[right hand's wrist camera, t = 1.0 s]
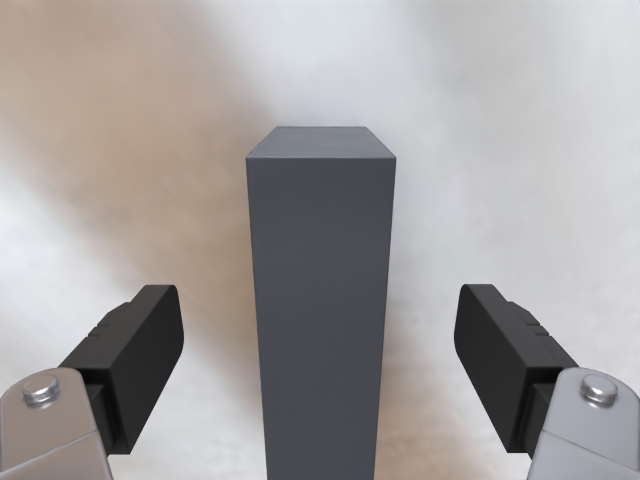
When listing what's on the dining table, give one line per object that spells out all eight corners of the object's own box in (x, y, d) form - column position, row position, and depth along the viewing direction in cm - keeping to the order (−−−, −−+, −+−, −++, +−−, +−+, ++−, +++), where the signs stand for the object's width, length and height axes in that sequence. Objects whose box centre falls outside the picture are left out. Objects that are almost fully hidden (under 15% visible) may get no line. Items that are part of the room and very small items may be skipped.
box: (275, 126, 25) (245, 156, 15) (366, 126, 25) (397, 156, 15) (287, 421, 34) (272, 564, 24) (354, 421, 34) (367, 564, 24)
